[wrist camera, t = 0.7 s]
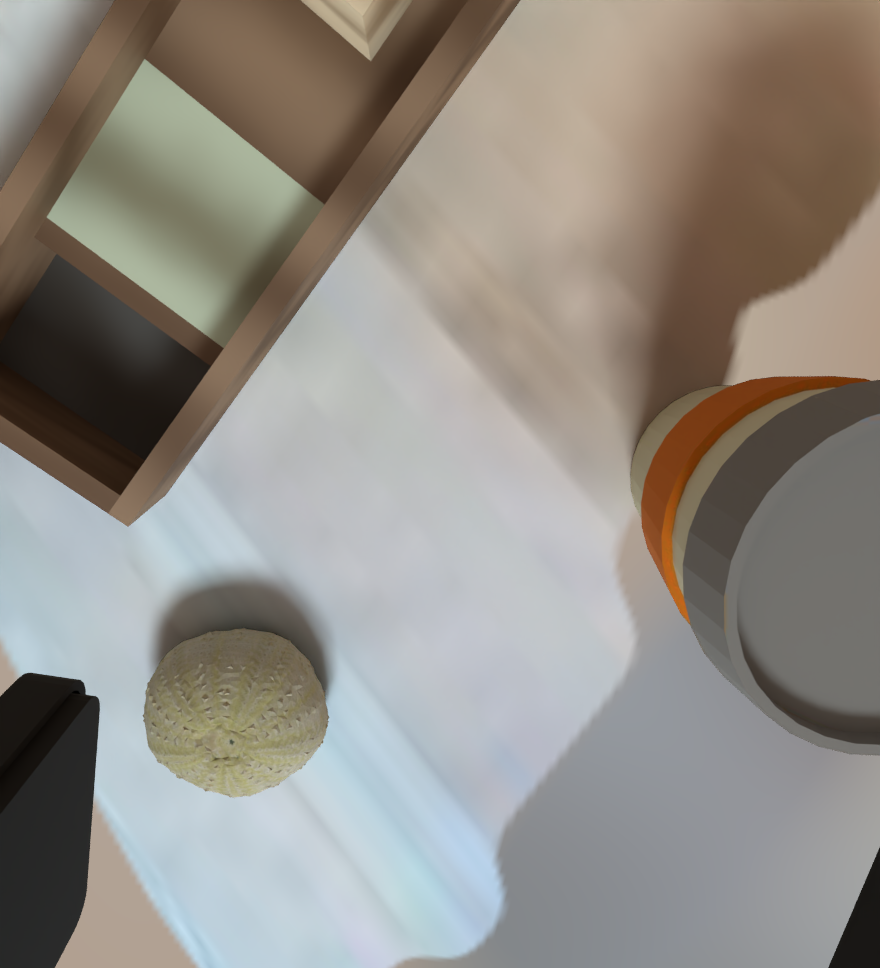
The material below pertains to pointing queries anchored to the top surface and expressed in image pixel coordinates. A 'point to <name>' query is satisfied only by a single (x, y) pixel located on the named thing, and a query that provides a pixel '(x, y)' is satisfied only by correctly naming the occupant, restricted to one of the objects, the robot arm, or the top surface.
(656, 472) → the reusable coffee cup
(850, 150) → the top surface
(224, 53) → the tray
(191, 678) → the sea urchin shell
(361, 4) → the maple block
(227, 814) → the top surface
